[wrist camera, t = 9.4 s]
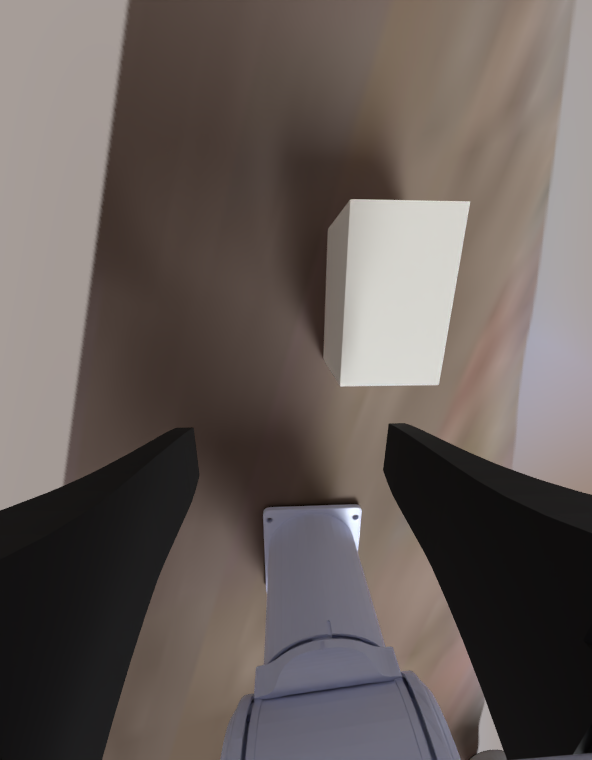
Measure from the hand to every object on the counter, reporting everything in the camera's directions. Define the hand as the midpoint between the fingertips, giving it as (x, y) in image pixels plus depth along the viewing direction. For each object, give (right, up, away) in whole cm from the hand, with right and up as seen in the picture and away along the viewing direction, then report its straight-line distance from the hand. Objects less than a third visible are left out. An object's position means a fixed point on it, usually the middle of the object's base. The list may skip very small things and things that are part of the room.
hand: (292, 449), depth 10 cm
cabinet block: (+4, +8, +8) cm, 12 cm away
